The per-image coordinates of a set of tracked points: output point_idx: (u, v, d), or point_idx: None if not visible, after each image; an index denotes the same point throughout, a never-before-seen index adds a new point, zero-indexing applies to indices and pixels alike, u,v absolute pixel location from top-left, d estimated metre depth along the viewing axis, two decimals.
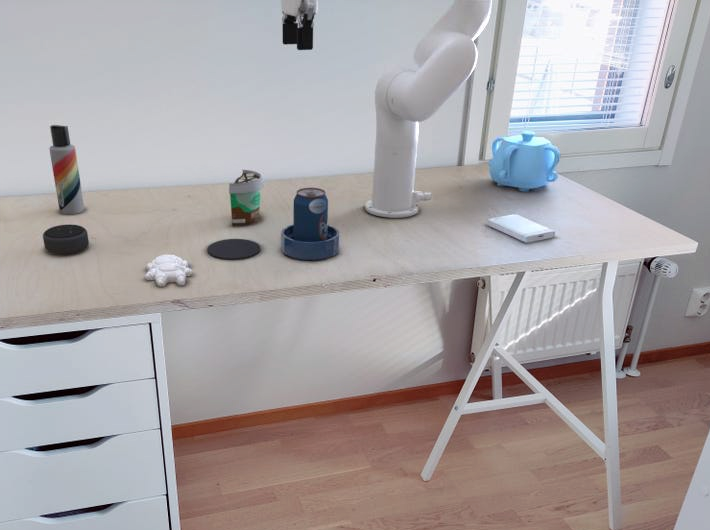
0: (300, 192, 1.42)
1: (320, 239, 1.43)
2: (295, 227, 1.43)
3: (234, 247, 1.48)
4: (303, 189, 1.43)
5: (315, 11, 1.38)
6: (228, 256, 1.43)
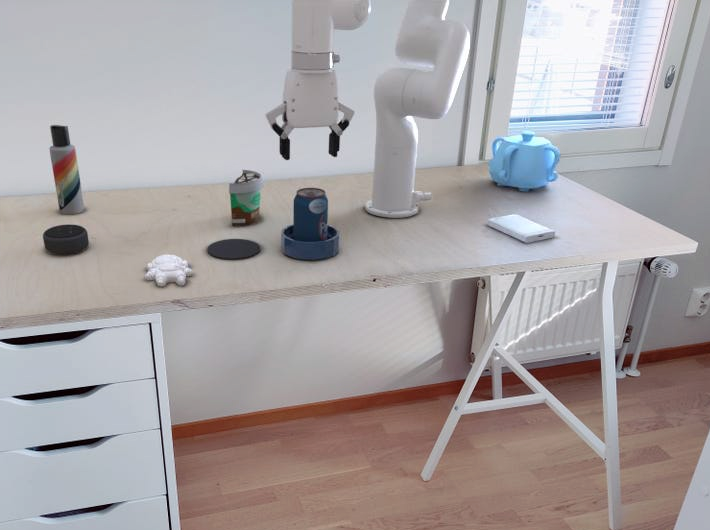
0: (300, 192, 1.42)
1: (320, 239, 1.43)
2: (295, 227, 1.43)
3: (234, 247, 1.48)
4: (303, 189, 1.43)
5: None
6: (228, 256, 1.43)
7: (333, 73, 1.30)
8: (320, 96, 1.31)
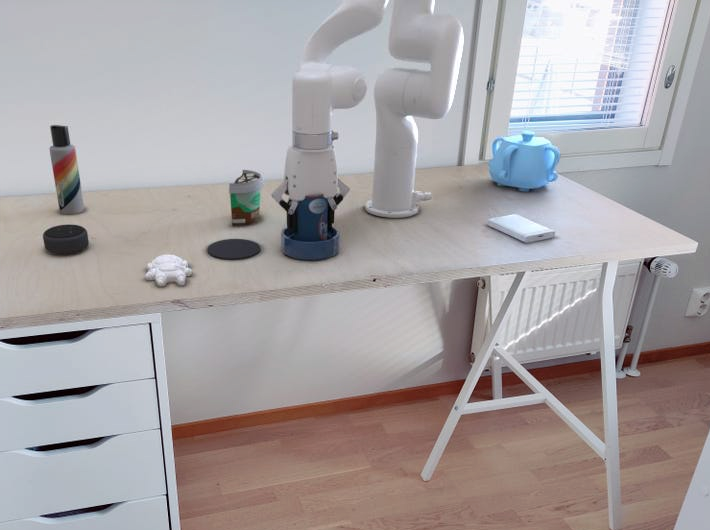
0: None
1: (320, 239, 1.43)
2: None
3: (234, 247, 1.48)
4: None
5: None
6: (228, 256, 1.43)
7: (332, 150, 1.36)
8: (320, 172, 1.37)
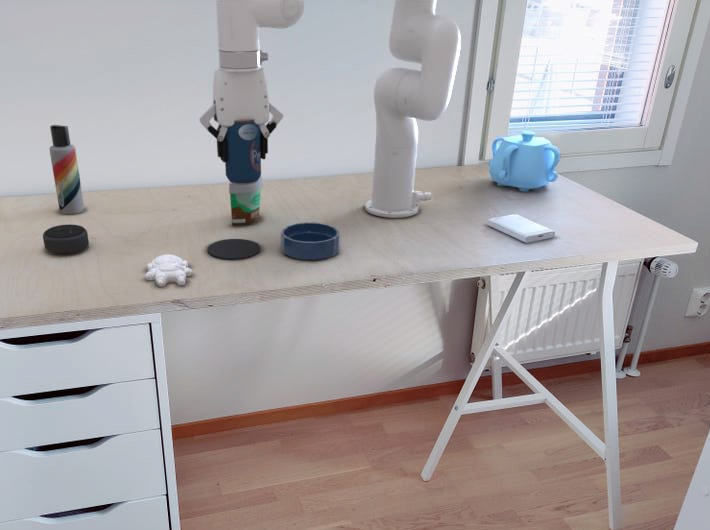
0: None
1: (252, 169, 1.36)
2: None
3: (234, 247, 1.48)
4: None
5: None
6: (228, 256, 1.43)
7: (261, 71, 1.29)
8: (249, 95, 1.30)
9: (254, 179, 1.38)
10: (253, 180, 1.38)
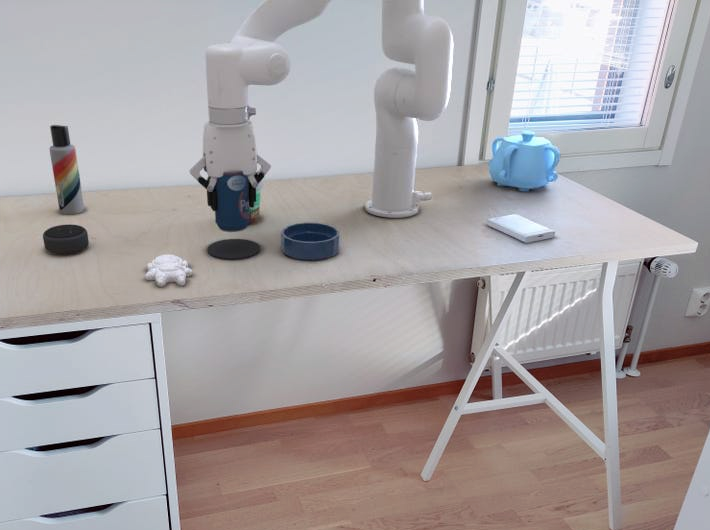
0: None
1: (241, 217, 1.41)
2: None
3: (234, 247, 1.48)
4: None
5: None
6: (228, 256, 1.43)
7: (249, 126, 1.34)
8: (238, 148, 1.35)
9: (243, 227, 1.43)
10: (242, 227, 1.43)
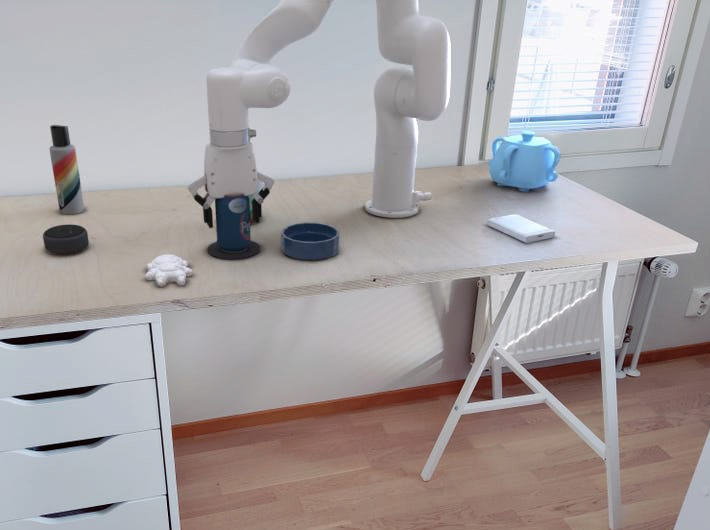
0: None
1: (242, 238, 1.43)
2: (217, 226, 1.43)
3: None
4: None
5: None
6: (228, 256, 1.43)
7: (250, 148, 1.36)
8: (239, 169, 1.37)
9: (244, 248, 1.45)
10: (243, 248, 1.45)
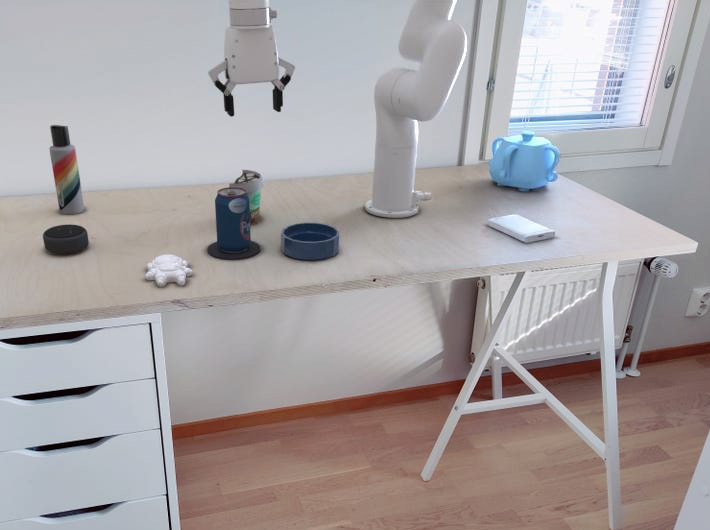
0: (221, 192, 1.42)
1: (242, 238, 1.43)
2: (217, 226, 1.43)
3: None
4: (225, 189, 1.43)
5: None
6: (228, 256, 1.43)
7: (271, 28, 1.34)
8: (260, 52, 1.35)
9: (244, 248, 1.45)
10: (243, 248, 1.45)
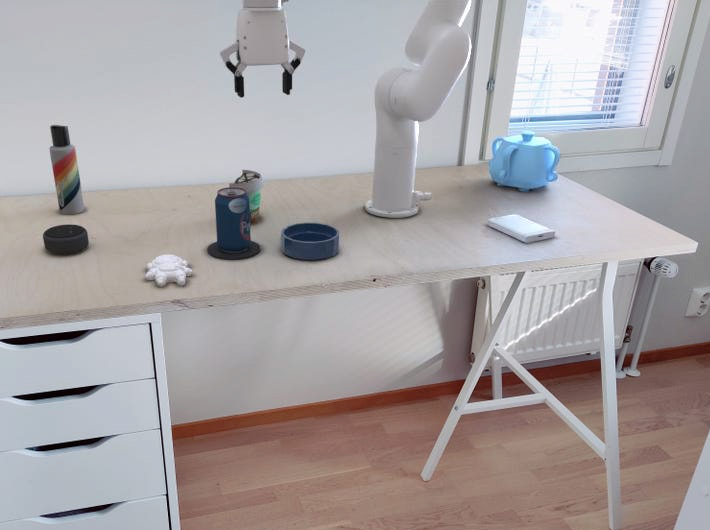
0: (221, 192, 1.42)
1: (242, 238, 1.43)
2: (217, 226, 1.43)
3: None
4: (225, 189, 1.43)
5: None
6: (228, 256, 1.43)
7: (282, 11, 1.36)
8: (271, 34, 1.37)
9: (244, 248, 1.45)
10: (243, 248, 1.45)
